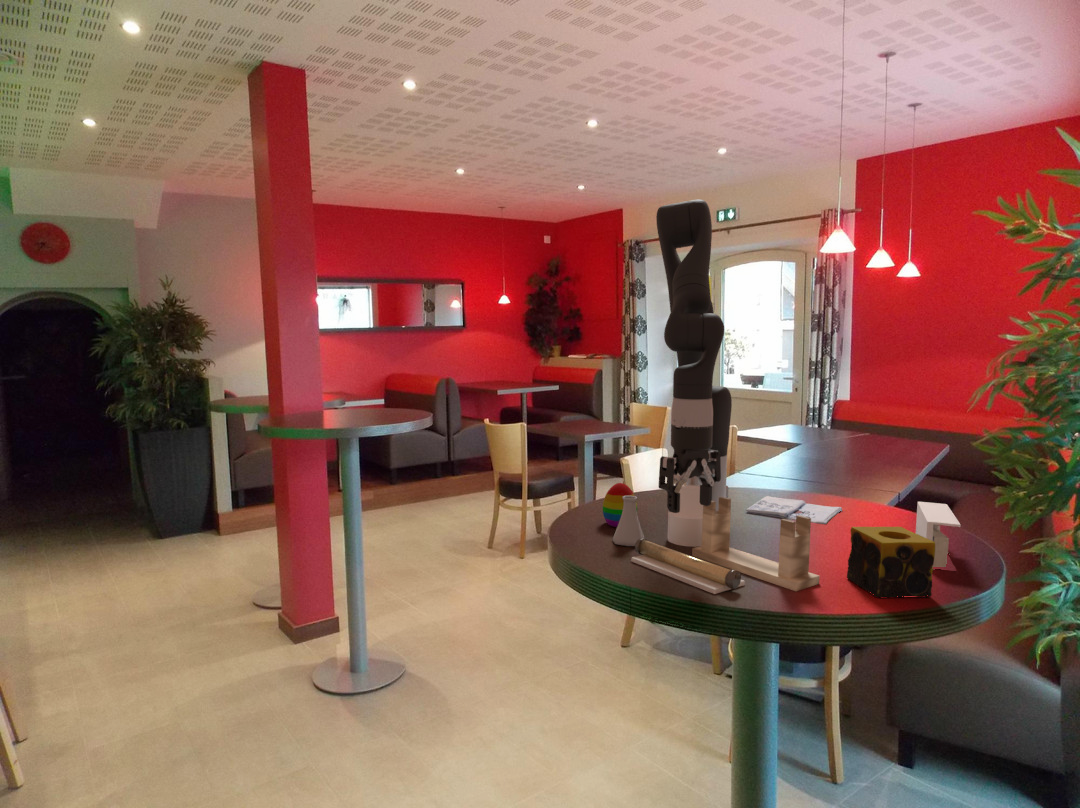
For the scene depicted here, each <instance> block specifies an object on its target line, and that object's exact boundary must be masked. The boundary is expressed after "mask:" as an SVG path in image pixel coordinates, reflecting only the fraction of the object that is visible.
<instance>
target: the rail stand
mask: <svg viewBox="0 0 1080 808" xmlns="http://www.w3.org/2000/svg"><path fill="white" fill-rule="evenodd" d="M731 507H732V499H731V498H730V497H728V498H726V497H719V504H718V511H716V502H715V501H711V505H710V506H704V505H703V522H702V546H697V547H692V550H691V551H692V553H691V556H692V557H695V558H698V559H701V560H704V561H707V562H709V563H712V564H715V565H718V566H721V567H724V568H727V569H730V570H736V571H738V572H740V574H744V575H747V576H750V577H752V578H756V579H758V580H761V581H764V582H768V583H770V584H774V585H776V586H779V587H781V588H785V589H787V590H791V591H793V592H799V591H801V590H804V589H807V588H811V587H813V586H817V585H820V577H821V576H820V575H819V574H815V573H812V572H809V570H810V550H811V549H810V548H811V547H810V546H811V527H812V526H811V523H812V522H811V518H808V517H804V516H800V515H799V516H796V520H792V519H790V520H789V519H786V518H781V519H780V526H779V527H780V529H779V544H778V545H779V549H778V551H779V552H778V561H774V560H771V559H767V558H765V557H762V556H759V555H755V554H752V553H748V552H745V551H742V550H739V549H736V548H733V547H731V546H730V543H731V542H730V541H731V539H730V537H731V514H732V510H731V509H732V508H731Z"/></svg>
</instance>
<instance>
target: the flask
mask: <svg viewBox="0 0 1080 808" xmlns="http://www.w3.org/2000/svg"><path fill="white" fill-rule="evenodd" d="M622 498H623V500H624V507H623V512H622V516H621V518H620V521H619V524H618V527H616V530H615V533H614V535H613V537H612V540H611V541H613V543H614V544H615V545H617V546H618V545H619V546H625V547H635V544H636V542H637V540H638V539H640V538H643V539H646V538H645V536H644V532H643V530H642V526H641V524H640V520H639V517H638V510H637V511H636V502H637V500H638V497H637V496H636V495H634V496H623V497H622Z"/></svg>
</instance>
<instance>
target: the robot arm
mask: <svg viewBox="0 0 1080 808" xmlns="http://www.w3.org/2000/svg"><path fill="white" fill-rule="evenodd" d="M711 215H712V214H711V210H710V207H709V204H708V203H707V201H706V200H704V199H690V200H686V201H680V202H675V203H669V204H665V205H664V204H663V205H661V206H659V207H658V208H657V212H656V215H655V216H656V219H655V220H656V230H657V234H658V241H659V246H660V250H661V256H662V260H663V265H664V271H665V278H666V282H667V290H668V298H669V299H668V301H669V310H670V313H669V316H668V319H667V321H666V324H665V327H664V332H663V337H664V342H665V345H666V346H667V348H669V349H670V350H671V351H673V352H675V353H676V359H677V365H678V366H677V367H675V369H674V371H673V378H672V379H673V386H672V387H673V389H672V390H673V391H672V404H671V409H670V411H671V412H670V415H671V416H670V417H671V418H670V446H671V448H672V449H673V455H672V456H670V457H669V456H661V457H659V458H660V459H659V470H658V471H659V473H658V489H660V490H664V491H666V492H667V499H666V500H667V501H666V502H667V503H666V507H667V509H668V510H669V511H670V512H673V513H679V512H680V493H679V491H680V489H681V487H682V485H693V486H700V504H701V505H704V506H710V505H711V501H715V502H716V511H718V504H719V497H726V498H729V486H728V485H727V471H728V469H727V468H728V467H727V465H728V463H727V462H728V447H729V441H730V429H731V428H730V425H731V418H732V417H731V416H732V407H733V406H732V405H733V404H732V402H733V400H732V399H733V398H732V395H731V392H730V389H729V388H727V387H726V386H720V385H713V381H714V380H713V379H714V372H715V366H716V362H717V358H718V354H719V352H720V348H721V346H722V344H723V340H724V336H725V325H724V322H723V320H722V318H721V317H720V316H719V315H718V314H716V313H714V306H713V305H714V304H713V301H712V297H711V286H710V285H711V284H710V262H711V254H712V253H711V252H712V240H713V239H712V236H713V224H712V217H711ZM688 247H691V248H690V250H689V251H688V252H687V254H686V255H685V257H684V258H683V259H682V260H681V259H680V256H679V253H678V251H677V249H681V248H688ZM674 484H676V485H675V486H674Z"/></svg>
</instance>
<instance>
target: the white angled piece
mask: <svg viewBox="0 0 1080 808" xmlns="http://www.w3.org/2000/svg"><path fill="white" fill-rule="evenodd" d="M915 523H916V524H915V533H916V534H918V535H920V536H922V537H924V538H927V539H929V540H931V541H933V542H935V557H934V563H933V567H946V564H947V554H948V553H949V542H950V538H949V537H948V536H947V535H945V534H944V533H943V532H942V531H941V526H946V527H947V526H948V527H957V528H961V523H960V522H959V520H958V518H957V517H956V516H955V514H954V513H953V511H952V510H951V508H950V507H949V505H948V504H946V503H939V502H938V503H937V502H928V501H927V502H926V501H917V508H916V521H915Z"/></svg>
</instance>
